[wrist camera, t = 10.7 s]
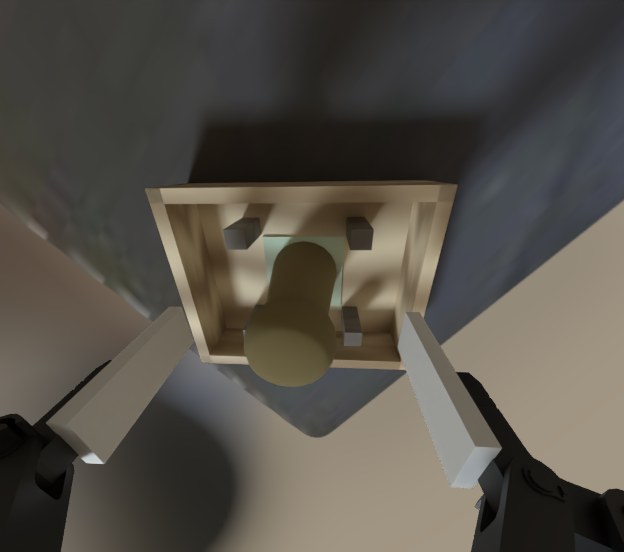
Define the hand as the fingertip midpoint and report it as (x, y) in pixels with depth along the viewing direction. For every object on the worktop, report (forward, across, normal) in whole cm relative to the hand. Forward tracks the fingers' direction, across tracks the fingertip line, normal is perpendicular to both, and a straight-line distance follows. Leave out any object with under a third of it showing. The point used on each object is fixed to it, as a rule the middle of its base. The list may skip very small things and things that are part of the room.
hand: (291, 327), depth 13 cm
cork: (+9, 0, 0) cm, 9 cm away
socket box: (+10, 0, -1) cm, 10 cm away
